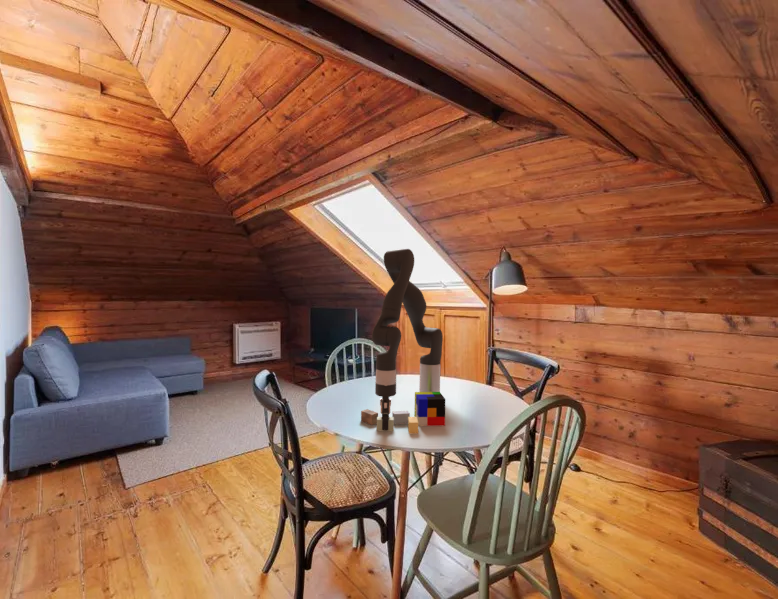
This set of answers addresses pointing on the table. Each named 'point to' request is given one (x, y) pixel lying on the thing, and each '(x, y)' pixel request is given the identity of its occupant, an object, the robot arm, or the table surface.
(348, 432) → the table surface
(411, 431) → the mustard brick
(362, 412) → the walnut brick
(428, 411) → the puzzle toy
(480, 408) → the table surface
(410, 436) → the table surface
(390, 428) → the cream brick
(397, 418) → the slate brick
